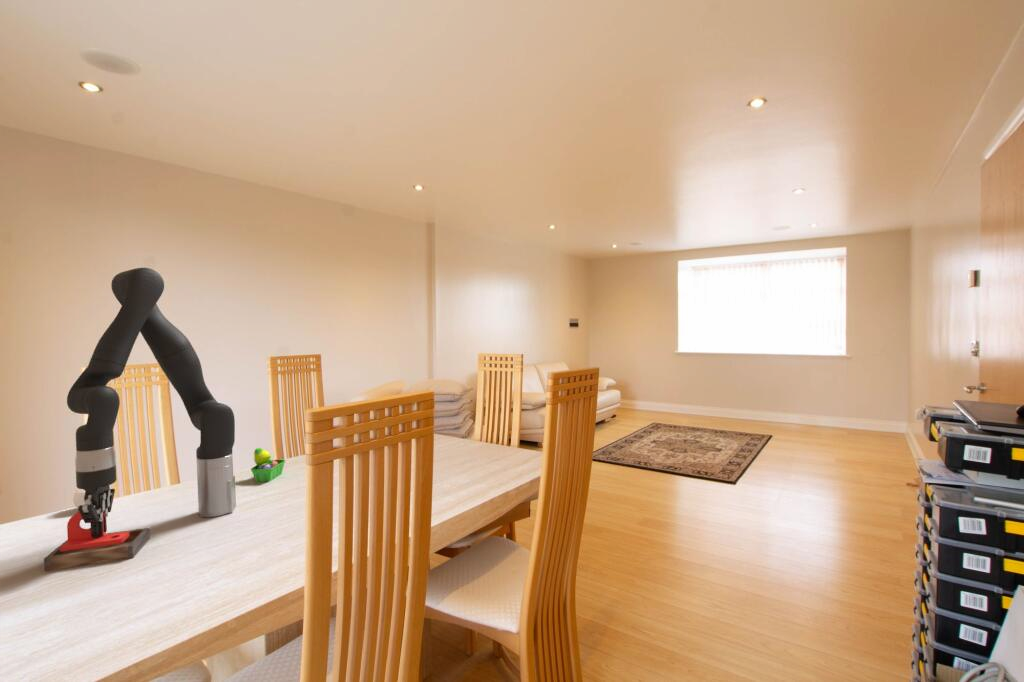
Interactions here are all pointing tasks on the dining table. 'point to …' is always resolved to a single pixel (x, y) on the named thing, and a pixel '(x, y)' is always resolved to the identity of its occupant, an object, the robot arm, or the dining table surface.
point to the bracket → (88, 536)
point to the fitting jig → (98, 552)
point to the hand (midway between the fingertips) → (99, 534)
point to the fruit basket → (266, 466)
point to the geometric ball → (79, 497)
